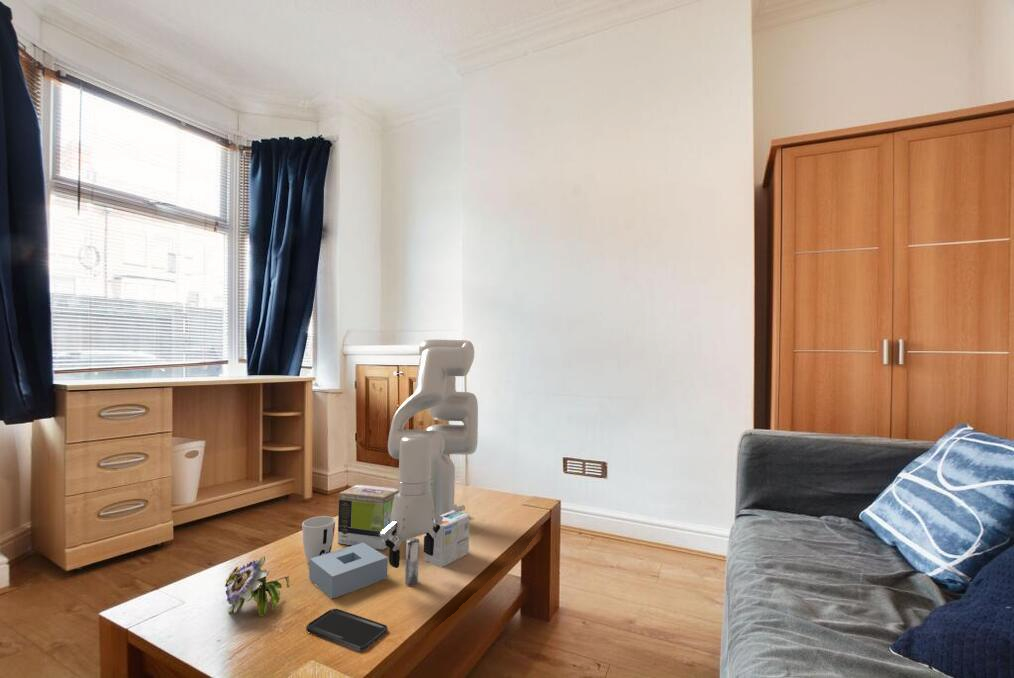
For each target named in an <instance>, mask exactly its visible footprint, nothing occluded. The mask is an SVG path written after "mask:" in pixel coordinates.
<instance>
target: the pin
mask: <svg viewBox="0 0 1014 678" xmlns="http://www.w3.org/2000/svg"><path fill="white" fill-rule="evenodd" d="M405 541H406V542H405V544H406V545H405V548H406V549H405V579H404V580H405V581H404V583H405V586H408V587H414V586H417V584H419V558H420V555H419V554H420V553H419V552H420V539H419V538H416V537H413V538H410V539H407V540H405Z"/></svg>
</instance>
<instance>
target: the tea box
mask: <svg viewBox="0 0 1014 678" xmlns="http://www.w3.org/2000/svg"><path fill="white" fill-rule="evenodd" d="M395 494H398V487H388V486H378V485H368V484H356V485H353V486H352V487H349V488H347V489H345V490H342V491H340V492H339V493H338V515H337V518H338V519H337V520H338V521H337V544H339V545H340V544H341V545H347V546H348V545H349V546H353V545H356V544H360V543H365V544H367V545H368V546H370V547H372V548H373V549H375V550H381V551H383V550H385V549H386V548H388V547H387V546H386V545H385V544H384V543H383V541H382V539H381V537H380V532H381V531H383V530H384V529H385V528H386V527H387V526H388V525H390V518H391V510H392V504H393V500H394V497H395ZM388 537H389V540H390V539H391V537H392V536H391V535H390V534H389V536H388Z"/></svg>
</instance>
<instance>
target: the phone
mask: <svg viewBox="0 0 1014 678" xmlns="http://www.w3.org/2000/svg"><path fill="white" fill-rule="evenodd" d="M305 628H306V629H305V631H306V630H307V631H308V632H310V633H309V634H311V633H312V634H311V635H313V634H315V635H314V636H316V635H317V636H316V637H319V638H321V637H322V638H321V639H324V640H326V639H327V641H329V642H332V643H335V644H336V645H340V646H342V647H345V648H348V649H350V650H353V651H355V652H360V653H361V652H362V651H363V652H365V651H367V650H368V649H369V648H370V647H372V646H373V645H374V644H376V642H378V641H379V640H380V639H381V638H382V637H384V636H385V635H386V634H387V633H388V625H387V624H383V623H382V622H381V623H380V622H378V621H375V620H372V619H368V618H366V617H363V616H360V615H357V614H354V613H351V612H348V611H345V610H342V609H339V608H331V609H329V610H327V611H325V612H324V613H323V614H321V615H320V616H318V617H317V618H315V619H313V620H312V621H310V622H309V623H307V624H306V627H305ZM307 631H306V632H307ZM308 632H307V633H308ZM371 645H372V646H371Z"/></svg>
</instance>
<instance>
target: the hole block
mask: <svg viewBox="0 0 1014 678" xmlns="http://www.w3.org/2000/svg"><path fill="white" fill-rule="evenodd" d="M388 563H389V556H387V555H385V554H384V553H381V552H380V551H378V549H374V548H372V547H370V546H368V545H367V544H365V543H360V544H356V545H349V546H347V547H344V548H340V549H337V550H335V551H331V552H330V553H327V554H324V555H320V556H317V557H314V558H311V559H310V563H309V568H308V569H309V570H308V571H309V573H308V577H309V578H308V580H309V579H310V580H311V581H312V582H313V583H314V584H313V583H312V582H311V581H310V580H309V581H310V582H311V583H312V584H313V585H315V584H316V585H317V586H318V587H319V588H320V589H321V590H320V589H319V588H318V587H317V586H316V585H315V586H316V587H317V588H318V589H319V590H320V591H321V592H323V593H324V592H325V593H326V594H327V595H328V596H329V597H328V596H327V595H326V594H325V593H324V594H325V595H326V596H327V597H328V598H329V599H331V600H334V599H336V598H338V597H341V596H344V595H346V594H348V593H351V592H354V591H357V590H359V589H363V588H366V587H367V586H369V585H373V584H375V583H378V582H380V581H381V582H382V581H383V580H386V579H388V565H389V564H388ZM333 598H334V599H333Z"/></svg>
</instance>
